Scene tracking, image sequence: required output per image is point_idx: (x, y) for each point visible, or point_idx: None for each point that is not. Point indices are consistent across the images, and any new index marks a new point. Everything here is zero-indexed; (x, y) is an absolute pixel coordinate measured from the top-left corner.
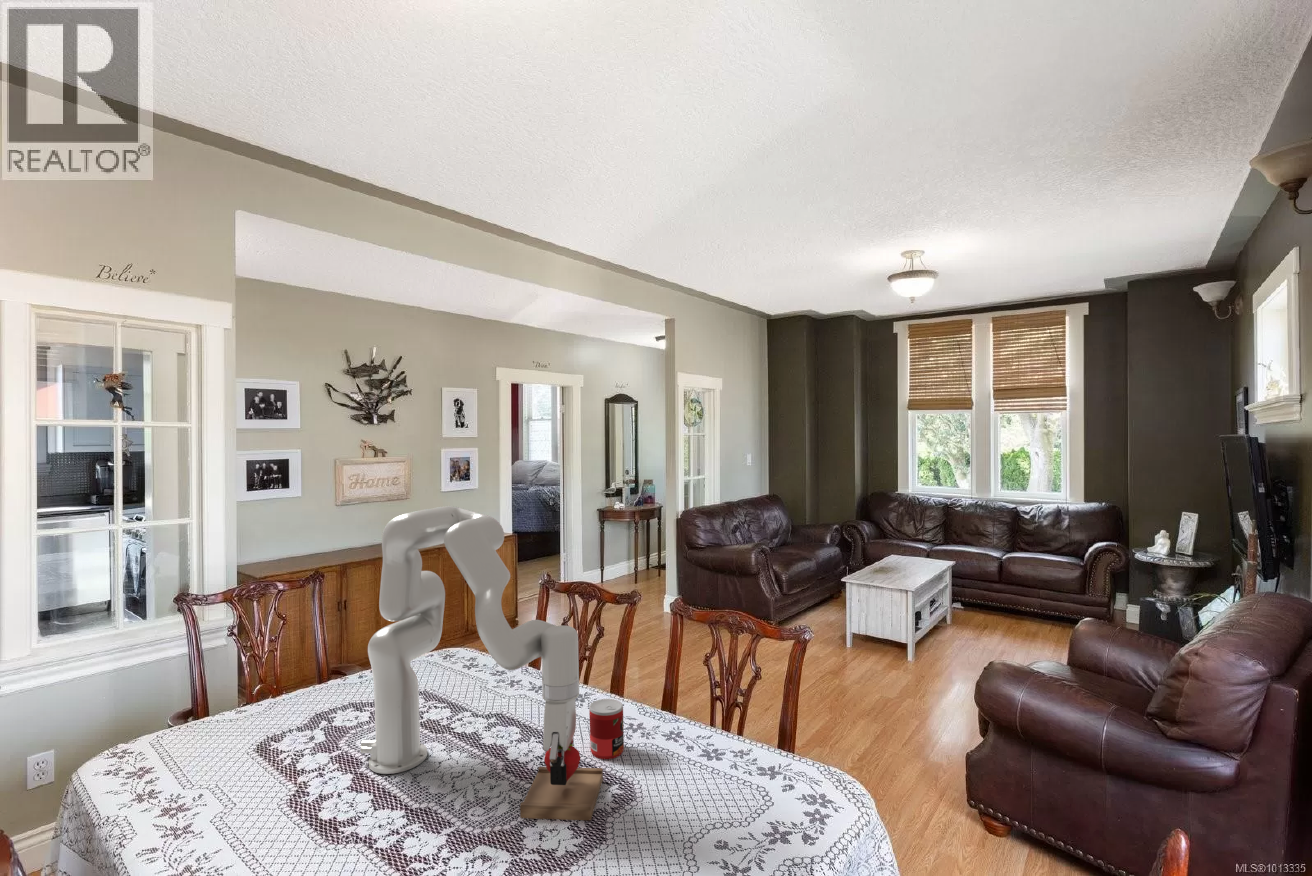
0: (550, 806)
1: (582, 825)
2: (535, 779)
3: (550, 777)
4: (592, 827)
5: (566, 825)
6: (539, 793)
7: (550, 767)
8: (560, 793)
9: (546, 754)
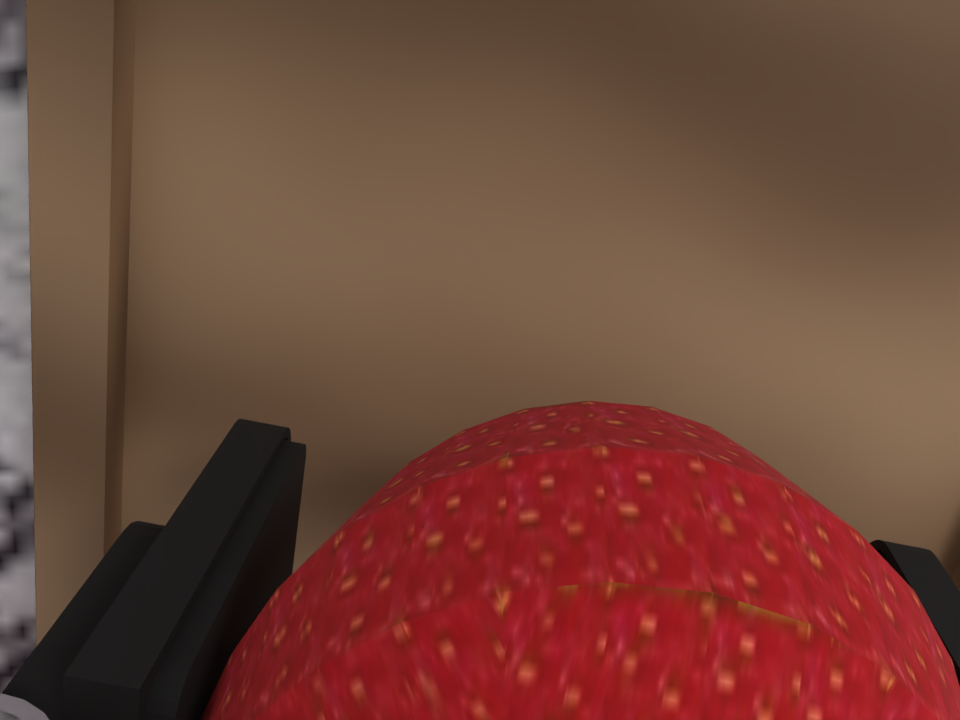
0: (38, 333)
1: (28, 594)
2: (938, 14)
3: (200, 479)
4: (4, 674)
5: (16, 448)
6: (463, 128)
7: (90, 636)
8: (430, 439)
9: (487, 665)
